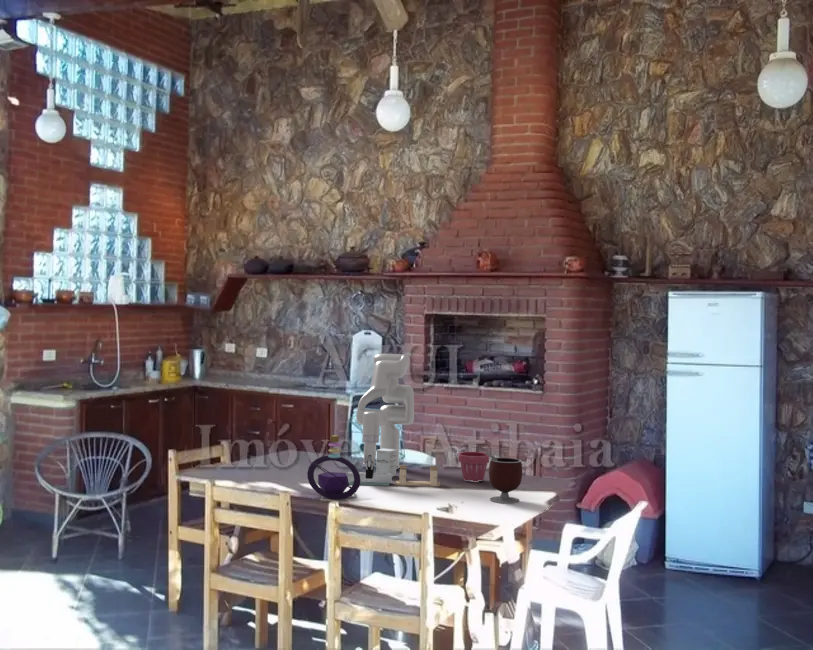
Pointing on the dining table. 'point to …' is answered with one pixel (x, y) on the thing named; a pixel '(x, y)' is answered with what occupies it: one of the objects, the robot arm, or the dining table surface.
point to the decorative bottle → (333, 475)
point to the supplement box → (386, 461)
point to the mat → (371, 483)
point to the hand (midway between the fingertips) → (369, 476)
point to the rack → (418, 483)
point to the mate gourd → (505, 478)
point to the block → (376, 478)
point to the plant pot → (473, 465)
